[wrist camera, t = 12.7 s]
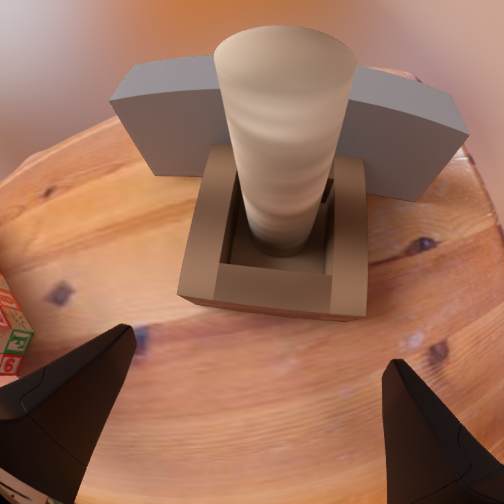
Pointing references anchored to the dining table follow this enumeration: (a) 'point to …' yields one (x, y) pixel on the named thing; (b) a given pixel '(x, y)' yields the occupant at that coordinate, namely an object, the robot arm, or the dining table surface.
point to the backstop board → (350, 139)
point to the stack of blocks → (12, 332)
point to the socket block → (278, 269)
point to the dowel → (283, 125)
